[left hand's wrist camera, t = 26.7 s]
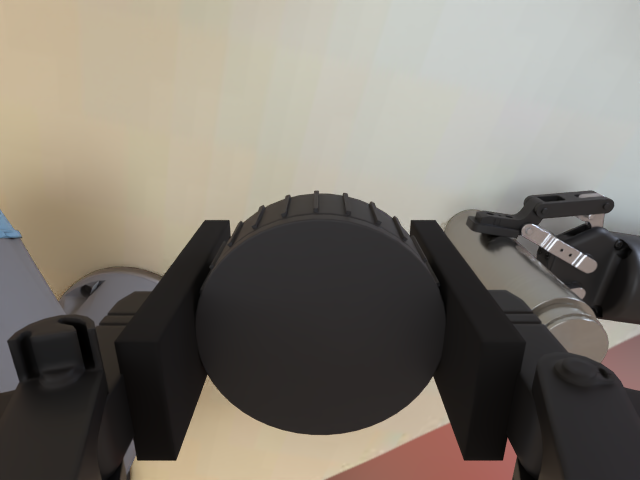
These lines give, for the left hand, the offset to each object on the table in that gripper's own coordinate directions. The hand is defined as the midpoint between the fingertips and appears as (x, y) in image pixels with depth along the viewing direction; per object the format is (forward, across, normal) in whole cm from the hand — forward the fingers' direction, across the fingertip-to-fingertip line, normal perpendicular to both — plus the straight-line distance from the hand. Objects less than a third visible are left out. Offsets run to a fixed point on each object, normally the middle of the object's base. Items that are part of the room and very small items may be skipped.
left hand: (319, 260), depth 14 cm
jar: (+28, +14, -9) cm, 33 cm away
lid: (-4, 0, 0) cm, 4 cm away
